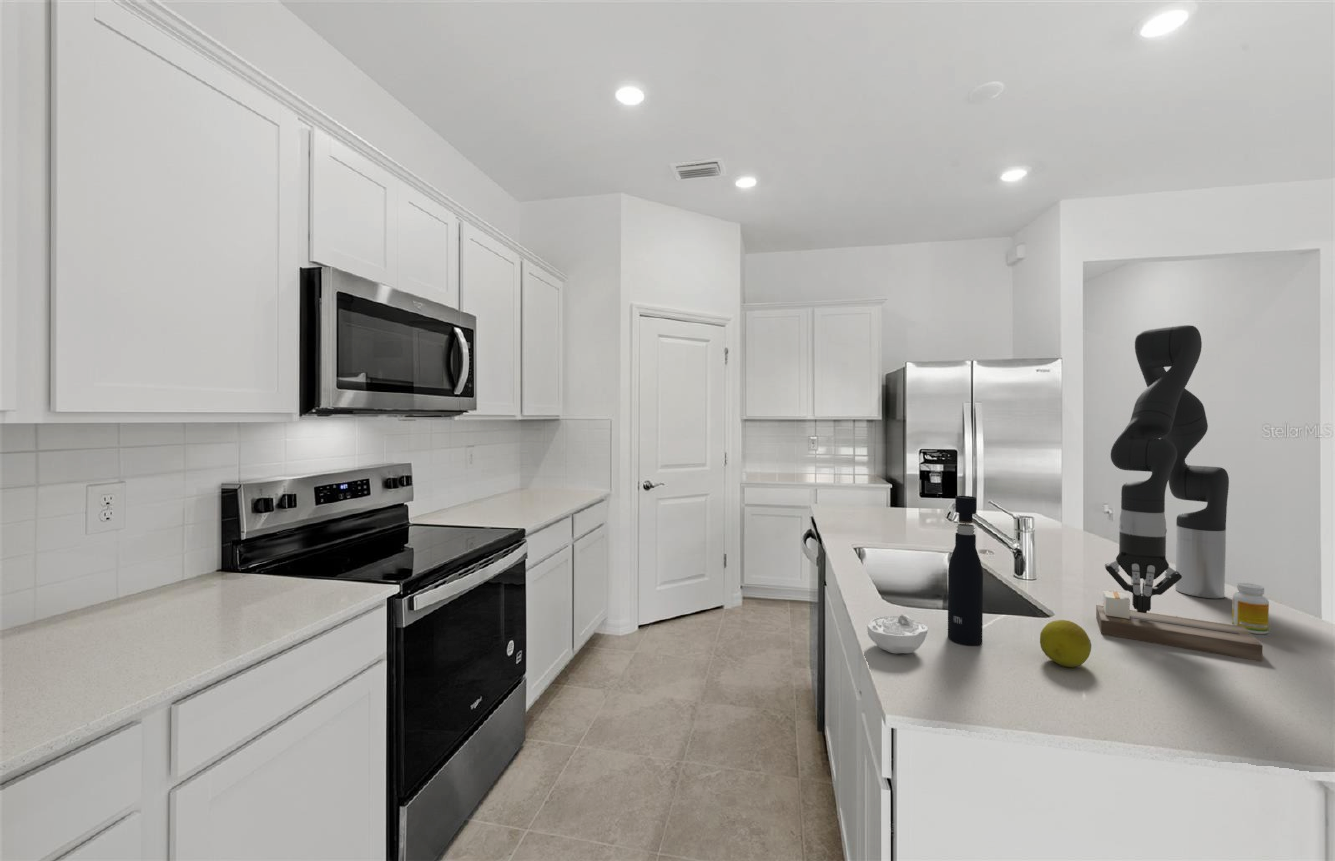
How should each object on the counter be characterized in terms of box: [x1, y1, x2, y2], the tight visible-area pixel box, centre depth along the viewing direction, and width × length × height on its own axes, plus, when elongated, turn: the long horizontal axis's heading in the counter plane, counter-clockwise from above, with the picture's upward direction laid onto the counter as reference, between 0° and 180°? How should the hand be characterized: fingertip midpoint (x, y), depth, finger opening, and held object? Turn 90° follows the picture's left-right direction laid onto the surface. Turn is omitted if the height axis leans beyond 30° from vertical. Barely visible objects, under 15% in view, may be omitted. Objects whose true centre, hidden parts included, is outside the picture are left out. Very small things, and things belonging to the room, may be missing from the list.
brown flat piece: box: [1095, 604, 1263, 662], centre depth 115 cm, size 11×24×3 cm, turn 56°
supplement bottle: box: [1231, 582, 1270, 635], centre depth 118 cm, size 5×5×10 cm
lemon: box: [1039, 619, 1092, 668], centre depth 103 cm, size 11×8×8 cm
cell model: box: [866, 614, 929, 654], centre depth 110 cm, size 10×12×7 cm
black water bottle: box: [947, 495, 984, 647], centre depth 114 cm, size 6×6×30 cm
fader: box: [1102, 590, 1131, 619], centre depth 120 cm, size 5×4×4 cm
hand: (1141, 611), depth 117 cm, fingers closed
